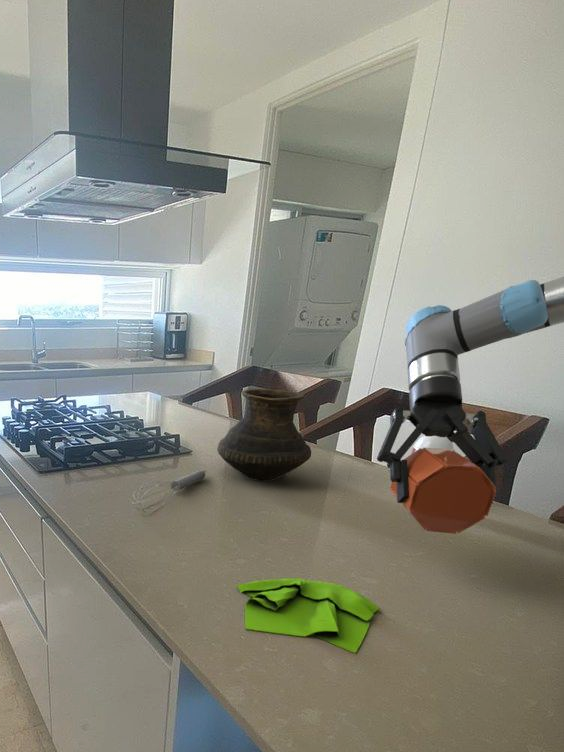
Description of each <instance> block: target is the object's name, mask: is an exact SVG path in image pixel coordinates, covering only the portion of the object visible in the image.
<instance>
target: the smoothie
mask: <svg viewBox="0 0 564 752" xmlns="http://www.w3.org/2000/svg"><path fill="white" fill-rule="evenodd" d="M453 443H454V442H451V441H450V440H449V439H448V438H447V437H438V436H425V435H424V434H422V436H420V437H418V438H417V440H416V441H415V442H414V443H413V444H412V450H411V454H413V453H414V452H416V451H417V450H419V449H420V448H422V449H423V447H425V448H441V449H451V450H453V451H455V452H456V449H454V444H453Z"/></svg>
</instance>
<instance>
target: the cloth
mask: <svg viewBox="0 0 564 752" xmlns="http://www.w3.org/2000/svg"><path fill="white" fill-rule="evenodd" d="M236 588H238V591H239V593H240V594H242V593H244V594H245V595H247V596H249V599H247V601H246V603H245V606H244V630H247V631H248V630H249V631H255V632H261V633H262V632H263V633H270V634H277V635H283V636H284V635H286V636H292V637H302V638H306V637H308V636H313V637H314V638H318V639H321V640H323V641H326V642H327V643H329V644H332V645H334V646H336V647H339V648H340V649H343V650H345V651H348V652H350V653H353V654H356V653H357V652H358V651H359V648H360V646H361V644H362V643H363V640H364V638H366V637H365V636H366V635H367V632H368V630H369V627H370V626H371V622H372V617H374V613H376V612H377V611H379V610H380V607H379V606H378V605H377V604H376V603H374V602H373V601H372V600H370V599H368V598H366V597H365V596H364V595H362V594H360V593H358V592H356V591H355V590H353V589H351V588H348V587H346V586H344V585H340V584H338V583H334V582H333V583H332V582H325V581H322V580H321V581H320V580H315V581H314V580H308V579H304V578H293V577H292V578H291V577H289V578H287V577H286V578H279V579H278V578H277V579H275V578H272V579H266V580H265V579H264V580H255V581H254V580H253V581H250V582H245V583H240V584H237V585H236ZM262 596H265V597H262Z"/></svg>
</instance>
